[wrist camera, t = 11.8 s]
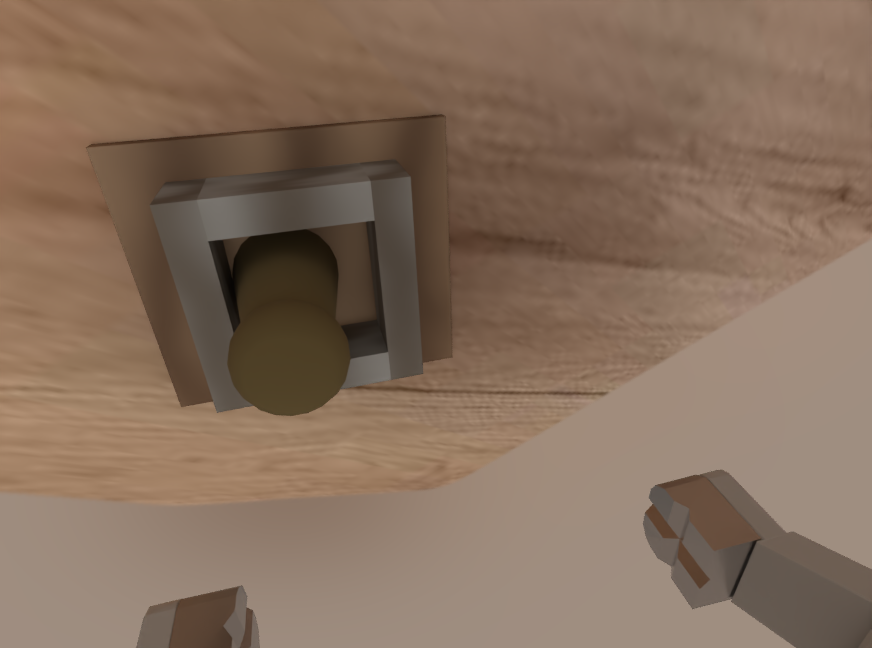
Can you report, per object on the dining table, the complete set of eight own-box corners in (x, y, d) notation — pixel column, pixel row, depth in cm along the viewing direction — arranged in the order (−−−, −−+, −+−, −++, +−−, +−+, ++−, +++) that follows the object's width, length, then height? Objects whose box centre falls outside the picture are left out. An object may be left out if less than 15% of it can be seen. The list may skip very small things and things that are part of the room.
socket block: (441, 114, 29) (468, 128, 25) (449, 351, 38) (470, 390, 34) (90, 144, 26) (56, 166, 22) (183, 399, 34) (170, 449, 30)
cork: (350, 302, 33) (379, 411, 24) (254, 331, 32) (246, 455, 23) (321, 212, 30) (342, 297, 20) (214, 241, 29) (185, 343, 20)
